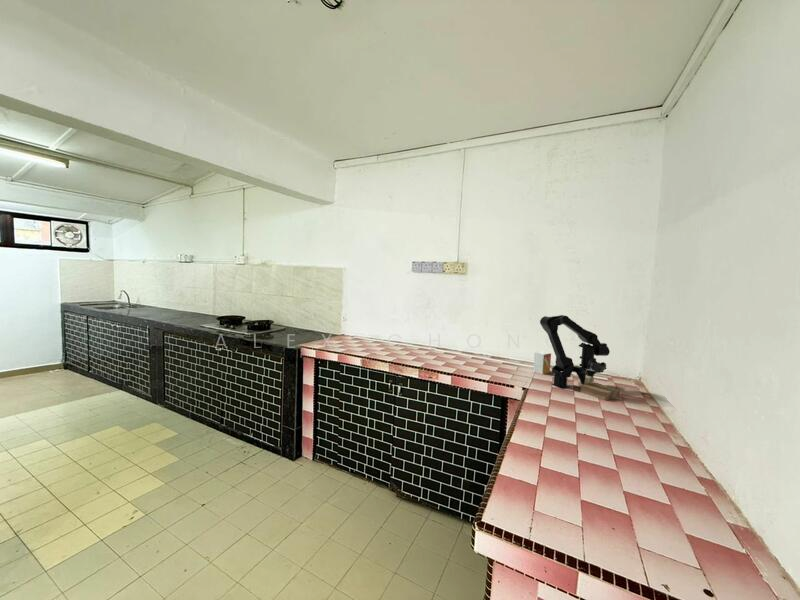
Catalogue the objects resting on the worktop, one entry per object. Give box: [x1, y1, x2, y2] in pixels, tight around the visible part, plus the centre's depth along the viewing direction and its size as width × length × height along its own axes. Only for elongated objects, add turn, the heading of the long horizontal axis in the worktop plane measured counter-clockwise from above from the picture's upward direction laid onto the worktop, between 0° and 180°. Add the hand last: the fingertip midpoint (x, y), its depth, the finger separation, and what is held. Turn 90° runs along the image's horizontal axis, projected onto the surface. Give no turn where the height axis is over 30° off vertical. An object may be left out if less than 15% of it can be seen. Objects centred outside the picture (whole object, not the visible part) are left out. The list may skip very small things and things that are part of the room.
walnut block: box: [579, 381, 621, 401], centre depth 153 cm, size 12×12×4 cm
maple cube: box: [578, 375, 595, 386], centre depth 165 cm, size 5×5×5 cm
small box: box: [532, 350, 552, 375], centre depth 186 cm, size 8×6×13 cm
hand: (585, 383), depth 166 cm, fingers closed on maple cube, 5 cm apart
